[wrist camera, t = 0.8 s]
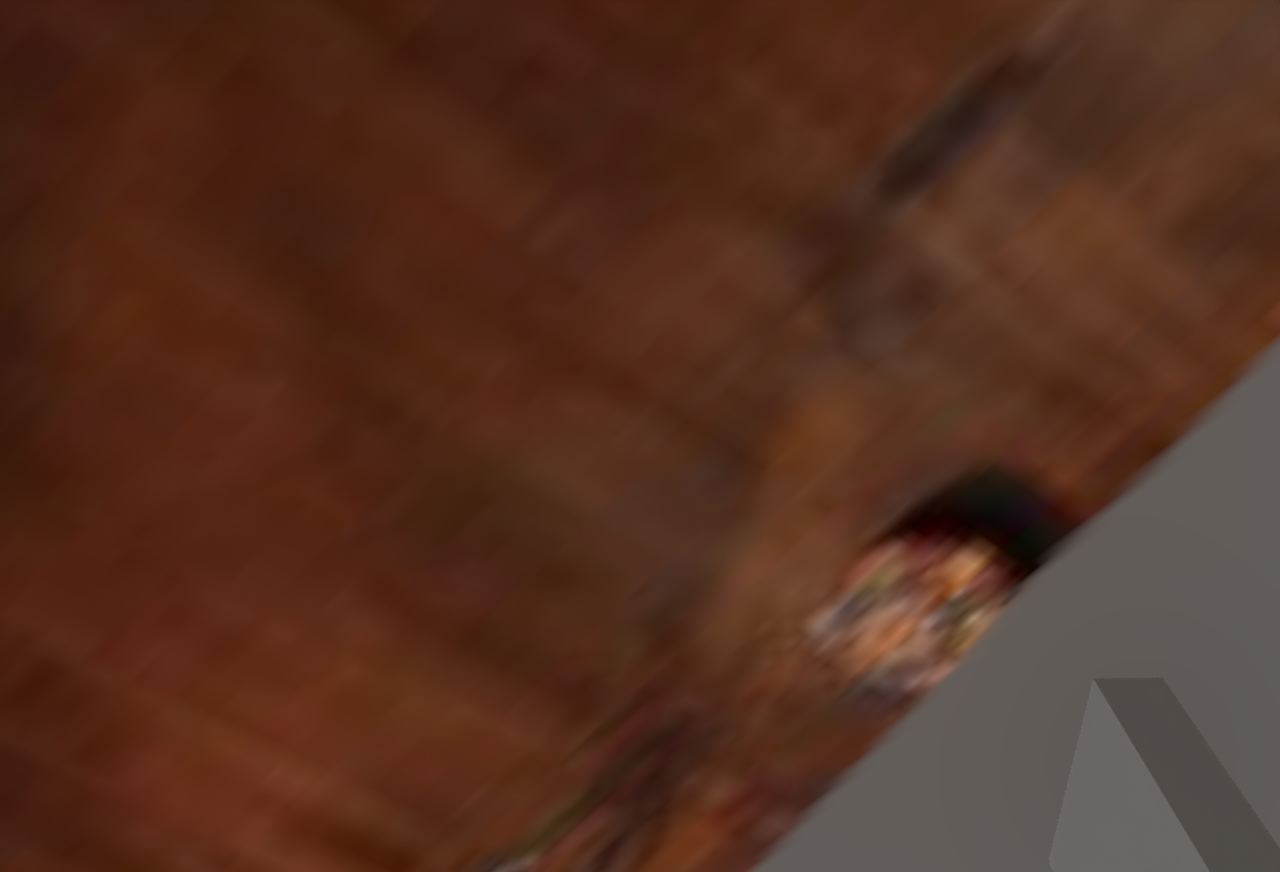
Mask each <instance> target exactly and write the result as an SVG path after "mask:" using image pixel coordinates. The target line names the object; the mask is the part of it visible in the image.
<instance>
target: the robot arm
mask: <svg viewBox="0 0 1280 872" xmlns="http://www.w3.org/2000/svg"><path fill="white" fill-rule="evenodd" d="M1049 864H1050V866H1051V869H1052V870H1053V872H1280V848H1279V846H1278V845H1277V844H1276V842H1275V841H1274V839H1273V838H1272V836H1271V835H1270V833H1269V832H1268V830H1267V829H1266V828H1265V826H1264V825H1263V823H1262V822H1261V820H1260V819H1259V817H1258V816H1257V815H1256V813H1255V812H1254V811H1253V809H1252V807H1251V806H1250V804H1249V803H1248V801H1247V800H1246V799H1245V797H1244V796H1243V794H1242V793H1241V791H1240V790H1239V788H1238V787H1237V785H1236V784H1235V783H1234V781H1233V780H1232V778H1231V777H1230V775H1229V774H1228V772H1227V771H1226V769H1225V768H1224V767H1223V765H1222V764H1221V762H1220V761H1219V759H1218V758H1217V756H1216V755H1215V753H1214V752H1213V751H1212V749H1211V748H1210V746H1209V745H1208V743H1207V742H1206V740H1205V739H1204V737H1203V736H1202V735H1201V733H1200V732H1199V730H1198V729H1197V727H1196V726H1195V724H1194V723H1193V722H1192V720H1191V719H1190V717H1189V716H1188V714H1187V713H1186V711H1185V710H1184V708H1183V707H1182V705H1181V704H1180V703H1179V701H1178V700H1177V698H1176V697H1175V695H1174V694H1173V693H1172V691H1171V690H1170V688H1169V687H1168V685H1167V684H1166V682H1165V681H1164V679H1163V678H1121V679H1120V678H1119V679H1118V678H1117V679H1115V678H1114V679H1093V683H1092V687H1091V691H1090V695H1089V699H1088V703H1087V707H1086V711H1085V715H1084V719H1083V723H1082V727H1081V731H1080V735H1079V739H1078V744H1077V748H1076V752H1075V756H1074V760H1073V764H1072V768H1071V772H1070V776H1069V781H1068V784H1067V788H1066V792H1065V797H1064V801H1063V805H1062V809H1061V813H1060V817H1059V821H1058V825H1057V829H1056V833H1055V837H1054V841H1053V845H1052V850H1051V854H1050V858H1049Z"/></svg>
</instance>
